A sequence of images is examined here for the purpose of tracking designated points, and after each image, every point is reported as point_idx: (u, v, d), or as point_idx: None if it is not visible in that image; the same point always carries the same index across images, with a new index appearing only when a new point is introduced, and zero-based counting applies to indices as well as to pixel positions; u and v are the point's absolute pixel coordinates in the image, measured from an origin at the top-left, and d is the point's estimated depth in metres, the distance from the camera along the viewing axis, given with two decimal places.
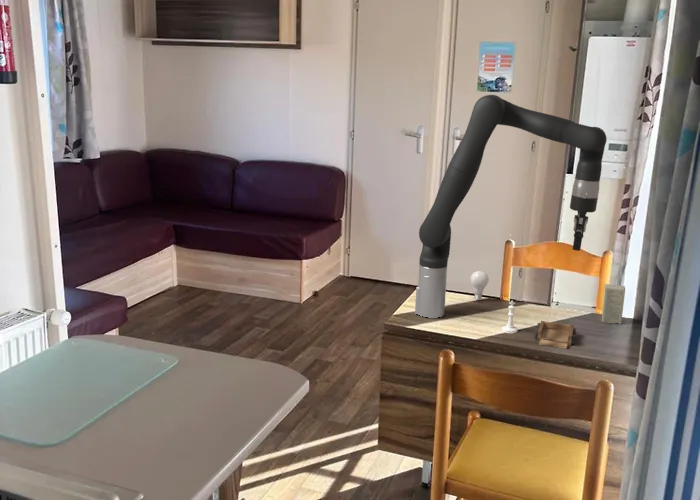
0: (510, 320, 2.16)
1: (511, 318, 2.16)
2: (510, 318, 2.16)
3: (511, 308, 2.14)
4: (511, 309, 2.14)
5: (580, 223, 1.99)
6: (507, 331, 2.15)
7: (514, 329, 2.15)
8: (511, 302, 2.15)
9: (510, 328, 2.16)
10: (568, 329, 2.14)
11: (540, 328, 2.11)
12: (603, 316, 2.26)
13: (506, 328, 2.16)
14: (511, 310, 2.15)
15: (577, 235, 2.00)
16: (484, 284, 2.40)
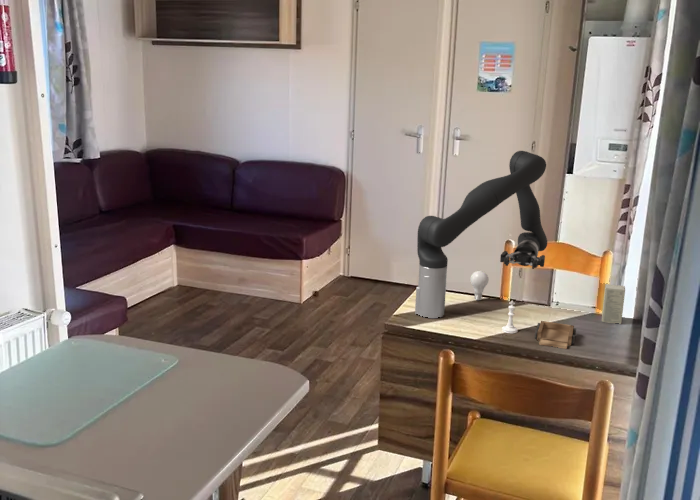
0: (510, 320, 2.16)
1: (511, 318, 2.16)
2: (510, 318, 2.16)
3: (511, 308, 2.14)
4: (511, 309, 2.14)
5: (544, 260, 2.28)
6: (507, 331, 2.15)
7: (514, 329, 2.15)
8: (511, 302, 2.15)
9: (510, 328, 2.16)
10: (568, 329, 2.14)
11: (540, 328, 2.11)
12: (603, 316, 2.26)
13: (506, 328, 2.16)
14: (511, 310, 2.15)
15: (543, 262, 2.24)
16: (484, 284, 2.40)
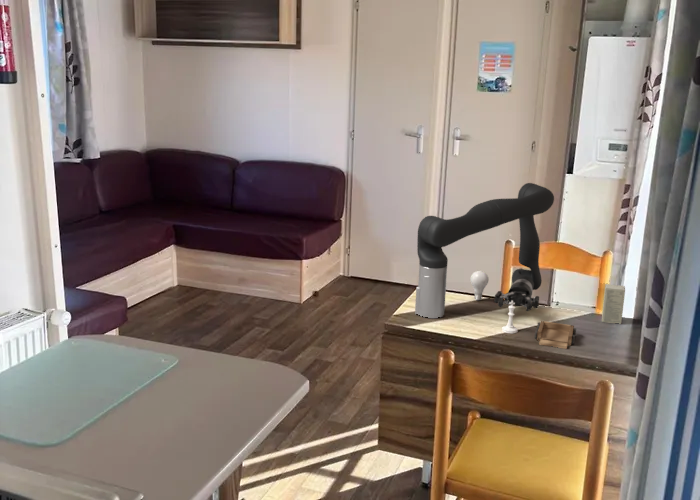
0: (510, 320, 2.16)
1: (511, 318, 2.16)
2: (510, 318, 2.16)
3: (511, 308, 2.14)
4: (511, 309, 2.14)
5: None
6: (507, 331, 2.15)
7: (514, 329, 2.15)
8: (511, 302, 2.15)
9: (510, 328, 2.16)
10: (568, 329, 2.14)
11: (540, 328, 2.11)
12: (603, 316, 2.26)
13: (506, 328, 2.16)
14: (511, 310, 2.15)
15: (538, 303, 2.24)
16: (484, 284, 2.40)
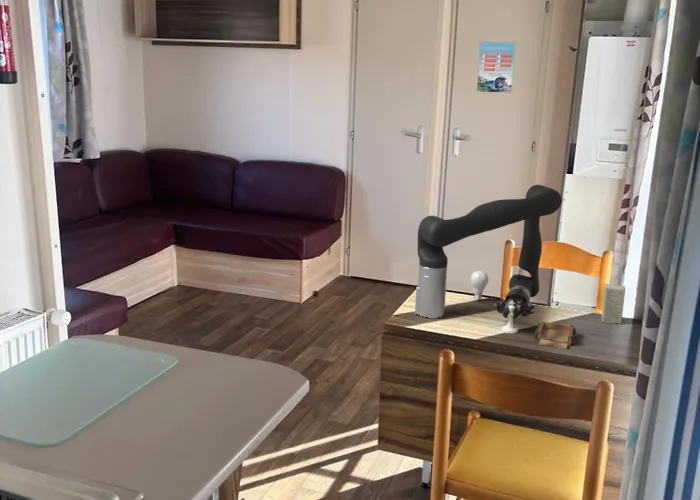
0: (510, 320, 2.16)
1: (511, 318, 2.16)
2: (510, 318, 2.16)
3: (511, 308, 2.14)
4: (511, 309, 2.14)
5: (531, 310, 2.18)
6: (507, 331, 2.15)
7: (514, 329, 2.15)
8: (511, 302, 2.15)
9: (510, 328, 2.16)
10: (568, 329, 2.14)
11: (540, 328, 2.11)
12: (603, 316, 2.26)
13: (506, 328, 2.16)
14: (511, 310, 2.15)
15: (525, 311, 2.16)
16: (484, 284, 2.40)
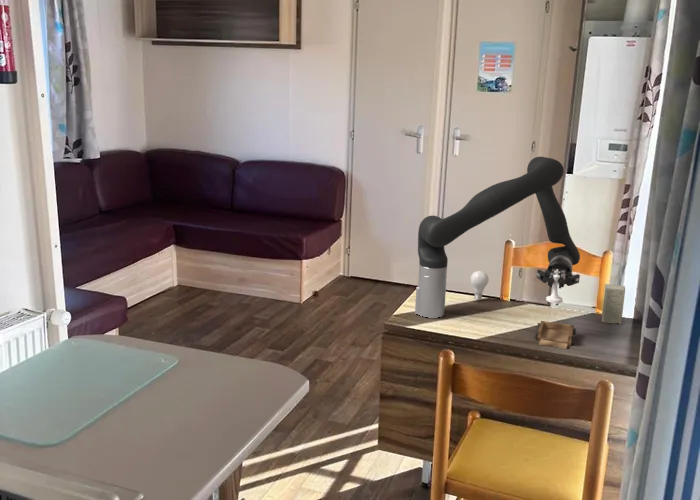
0: (555, 290, 2.09)
1: (556, 287, 2.09)
2: (555, 287, 2.09)
3: (556, 277, 2.07)
4: (556, 278, 2.08)
5: (576, 279, 2.11)
6: (552, 301, 2.08)
7: (559, 299, 2.09)
8: (556, 271, 2.08)
9: (555, 298, 2.09)
10: (568, 329, 2.14)
11: (540, 328, 2.11)
12: (603, 316, 2.26)
13: (551, 298, 2.09)
14: (556, 279, 2.08)
15: (570, 280, 2.09)
16: (484, 284, 2.40)
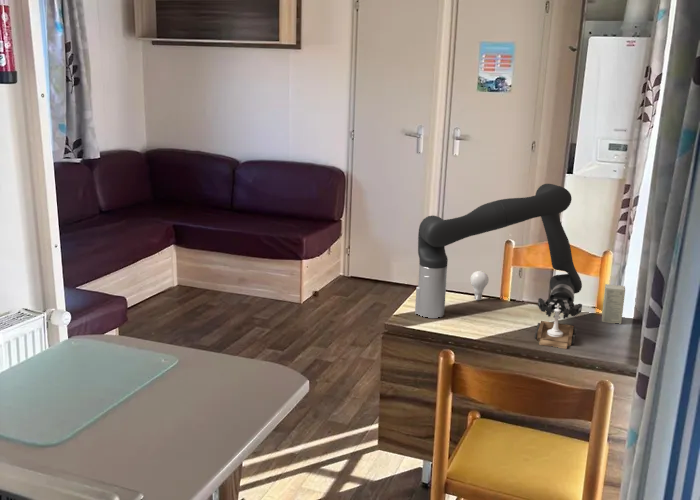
0: (556, 323, 2.11)
1: (557, 321, 2.11)
2: (556, 321, 2.11)
3: (557, 311, 2.09)
4: (557, 312, 2.09)
5: (579, 309, 2.13)
6: (553, 335, 2.10)
7: (560, 333, 2.11)
8: (557, 305, 2.10)
9: (556, 332, 2.11)
10: (568, 329, 2.14)
11: (540, 328, 2.11)
12: (603, 316, 2.26)
13: (551, 332, 2.11)
14: (557, 313, 2.10)
15: (575, 311, 2.10)
16: (484, 284, 2.40)
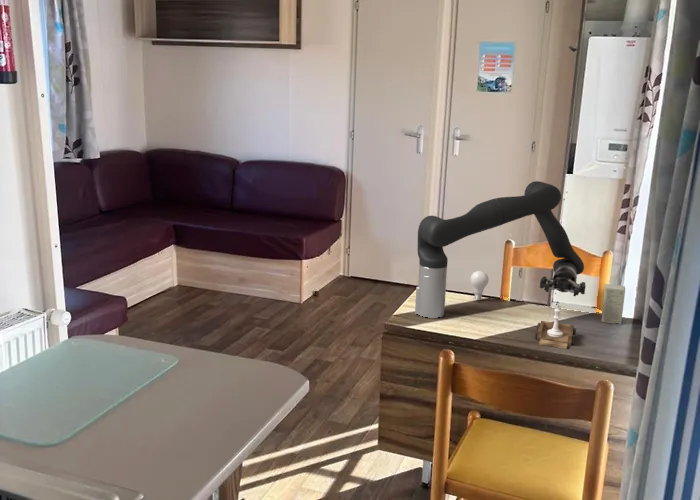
0: (556, 323, 2.11)
1: (557, 321, 2.11)
2: (556, 321, 2.11)
3: (557, 311, 2.09)
4: (557, 312, 2.09)
5: None
6: (553, 335, 2.10)
7: (560, 333, 2.11)
8: (557, 305, 2.10)
9: (556, 332, 2.11)
10: (568, 329, 2.14)
11: (540, 328, 2.11)
12: (603, 316, 2.26)
13: (551, 332, 2.11)
14: (557, 313, 2.10)
15: (584, 289, 2.21)
16: (484, 284, 2.40)
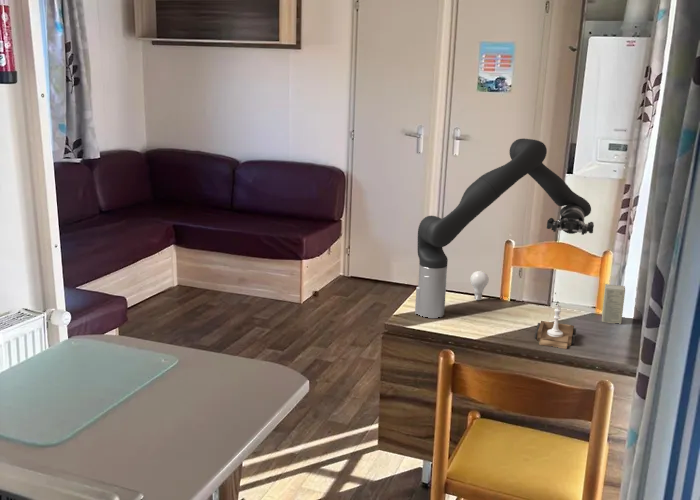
0: (556, 323, 2.11)
1: (557, 321, 2.11)
2: (556, 321, 2.11)
3: (557, 311, 2.09)
4: (557, 312, 2.09)
5: None
6: (553, 335, 2.10)
7: (560, 333, 2.11)
8: (557, 305, 2.10)
9: (556, 332, 2.11)
10: (568, 329, 2.14)
11: (540, 328, 2.11)
12: (603, 316, 2.26)
13: (551, 332, 2.11)
14: (557, 313, 2.10)
15: None
16: (484, 284, 2.40)
